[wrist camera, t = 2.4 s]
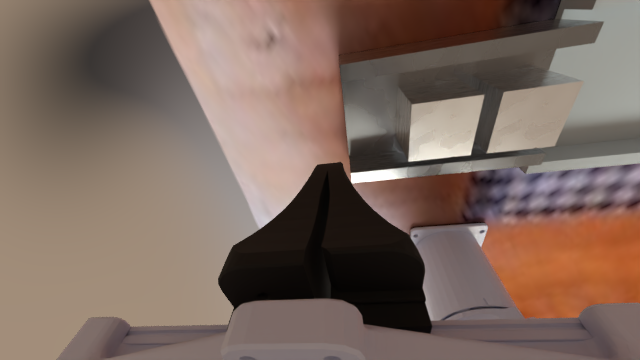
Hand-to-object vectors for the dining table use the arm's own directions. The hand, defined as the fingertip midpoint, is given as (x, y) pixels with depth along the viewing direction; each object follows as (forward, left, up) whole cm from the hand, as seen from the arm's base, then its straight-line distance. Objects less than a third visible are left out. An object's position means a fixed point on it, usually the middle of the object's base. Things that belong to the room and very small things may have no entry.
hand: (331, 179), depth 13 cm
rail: (0, -8, -9) cm, 12 cm away
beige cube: (0, -12, -8) cm, 14 cm away
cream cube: (0, -7, -8) cm, 11 cm away
